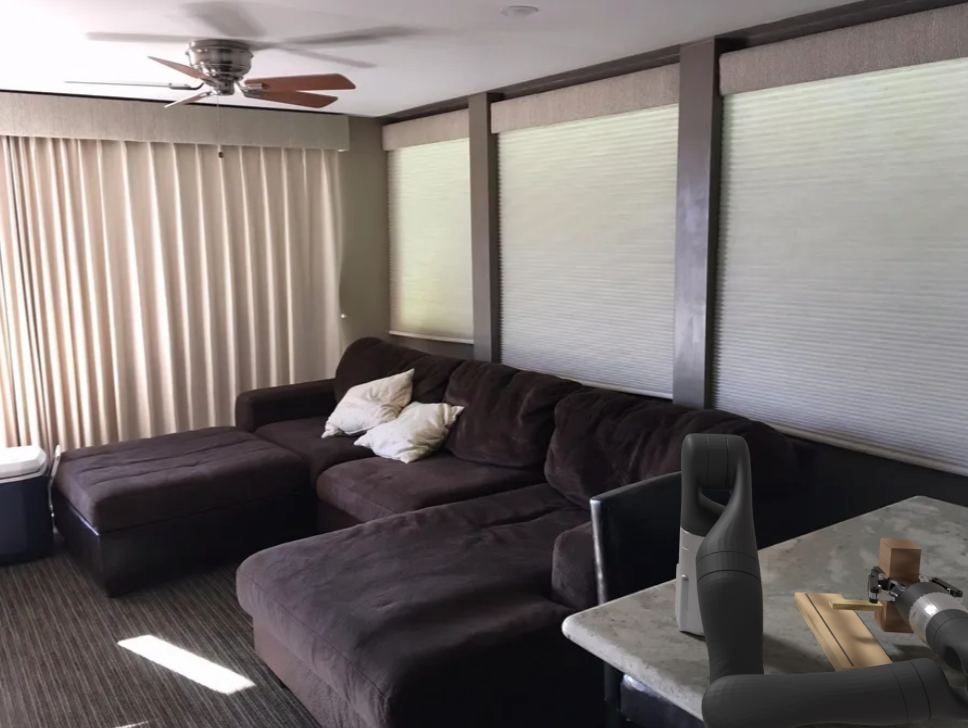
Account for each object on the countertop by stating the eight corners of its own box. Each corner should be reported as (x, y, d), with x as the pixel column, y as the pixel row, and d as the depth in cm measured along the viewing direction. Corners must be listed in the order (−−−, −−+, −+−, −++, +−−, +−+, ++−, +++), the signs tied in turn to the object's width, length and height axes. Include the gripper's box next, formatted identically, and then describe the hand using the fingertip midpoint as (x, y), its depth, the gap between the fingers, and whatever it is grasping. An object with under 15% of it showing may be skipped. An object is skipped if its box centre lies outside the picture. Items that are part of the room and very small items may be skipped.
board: (841, 679, 124) (842, 666, 124) (794, 602, 149) (795, 591, 149) (897, 682, 123) (898, 669, 123) (840, 604, 149) (841, 593, 148)
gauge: (833, 629, 133) (840, 545, 131) (825, 617, 137) (831, 535, 135) (913, 633, 131) (921, 549, 129) (902, 621, 136) (909, 539, 134)
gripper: (883, 640, 120) (844, 592, 137) (987, 645, 118) (935, 596, 135) (887, 590, 119) (847, 548, 136) (992, 595, 117) (939, 552, 134)
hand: (891, 572), depth 135 cm, fingers closed on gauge, 4 cm apart
